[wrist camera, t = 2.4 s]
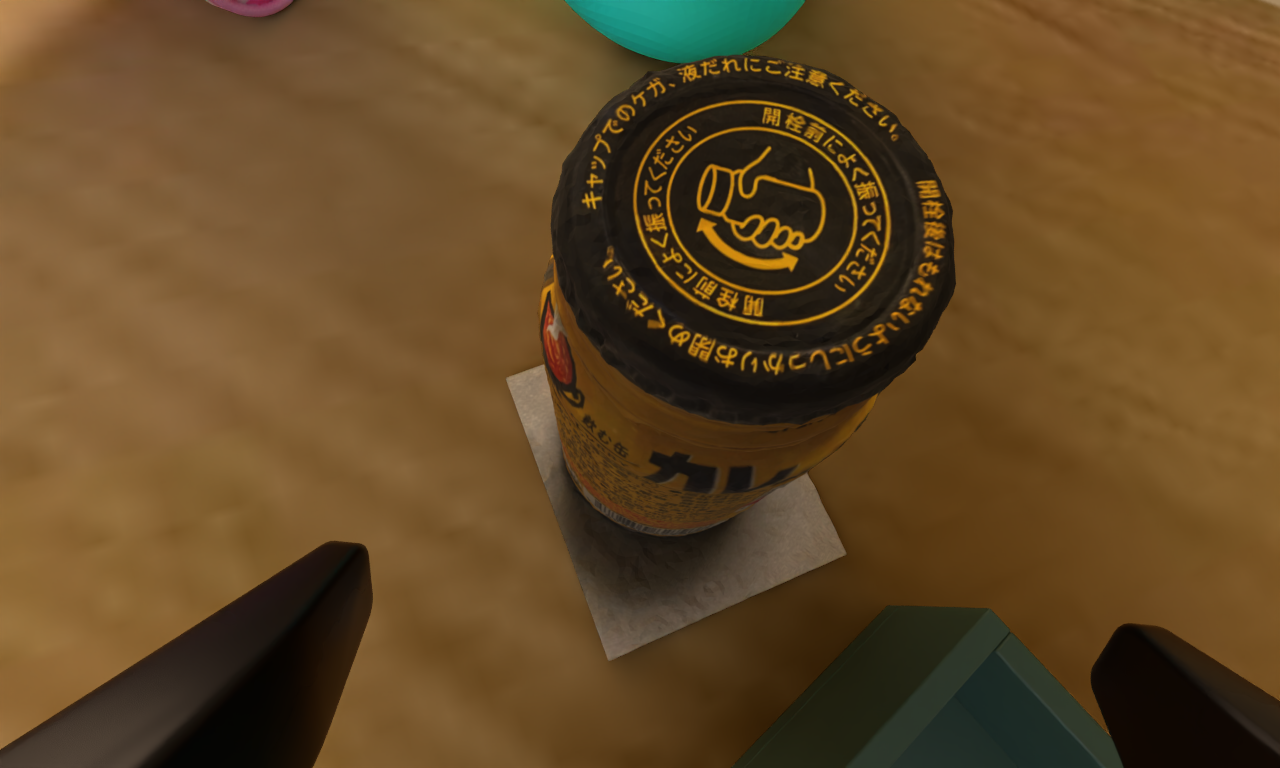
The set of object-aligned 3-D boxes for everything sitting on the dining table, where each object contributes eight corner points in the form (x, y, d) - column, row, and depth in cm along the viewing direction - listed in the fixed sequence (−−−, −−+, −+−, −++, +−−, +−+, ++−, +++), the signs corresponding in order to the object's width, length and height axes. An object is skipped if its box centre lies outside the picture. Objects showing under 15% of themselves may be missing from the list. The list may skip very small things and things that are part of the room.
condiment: (723, 303, 21) (874, -52, 9) (844, 554, 18) (1240, 487, 7) (506, 380, 19) (377, 76, 8) (608, 660, 17) (627, 785, 6)
